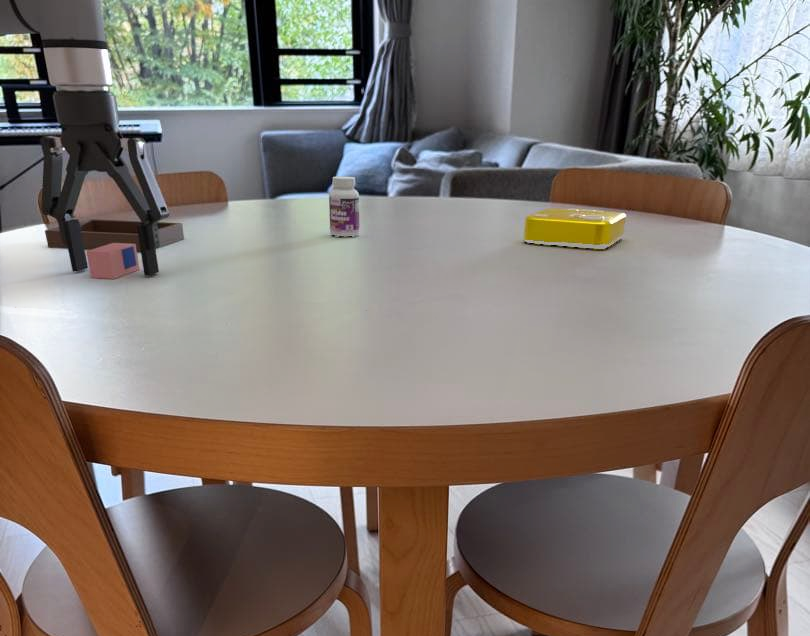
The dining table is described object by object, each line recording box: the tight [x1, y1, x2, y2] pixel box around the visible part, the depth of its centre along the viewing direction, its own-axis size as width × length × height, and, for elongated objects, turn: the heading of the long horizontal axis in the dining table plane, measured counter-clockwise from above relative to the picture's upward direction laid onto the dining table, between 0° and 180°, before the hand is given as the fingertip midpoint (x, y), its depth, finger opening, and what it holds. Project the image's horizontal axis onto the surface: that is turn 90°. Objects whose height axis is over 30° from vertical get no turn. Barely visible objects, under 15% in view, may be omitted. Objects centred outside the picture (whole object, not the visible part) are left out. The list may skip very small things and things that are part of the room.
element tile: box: [523, 207, 627, 251], centre depth 133 cm, size 15×15×5 cm
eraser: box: [85, 243, 140, 280], centre depth 106 cm, size 7×4×4 cm, turn 168°
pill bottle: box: [328, 175, 360, 238], centre depth 135 cm, size 5×5×10 cm
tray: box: [44, 218, 185, 253], centre depth 128 cm, size 18×14×3 cm
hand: (115, 271), depth 106 cm, fingers open, 10 cm apart
